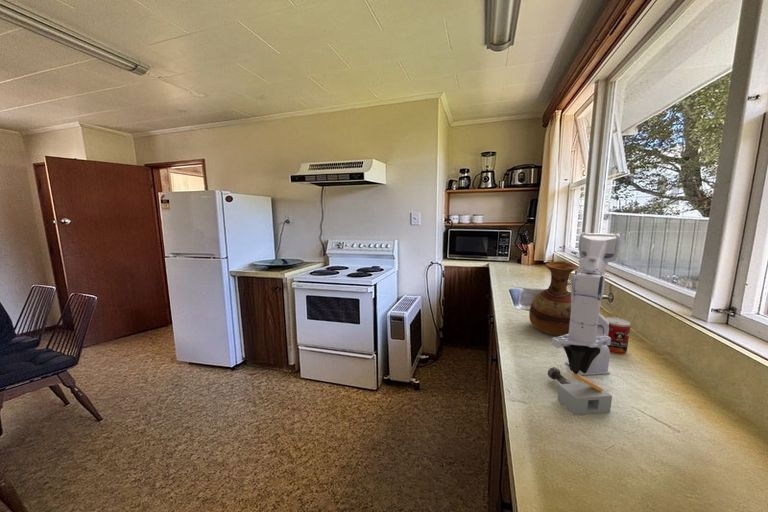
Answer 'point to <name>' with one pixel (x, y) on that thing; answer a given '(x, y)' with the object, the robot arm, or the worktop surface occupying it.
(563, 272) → the brown clay vase
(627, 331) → the canned food
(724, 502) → the worktop surface
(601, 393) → the block
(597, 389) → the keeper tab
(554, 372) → the pin
